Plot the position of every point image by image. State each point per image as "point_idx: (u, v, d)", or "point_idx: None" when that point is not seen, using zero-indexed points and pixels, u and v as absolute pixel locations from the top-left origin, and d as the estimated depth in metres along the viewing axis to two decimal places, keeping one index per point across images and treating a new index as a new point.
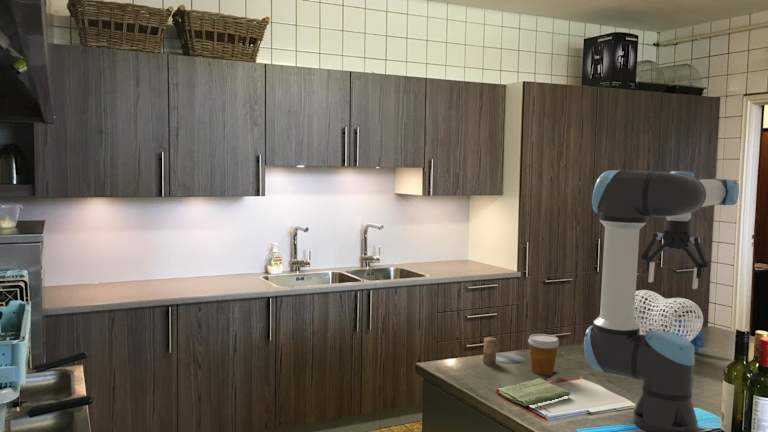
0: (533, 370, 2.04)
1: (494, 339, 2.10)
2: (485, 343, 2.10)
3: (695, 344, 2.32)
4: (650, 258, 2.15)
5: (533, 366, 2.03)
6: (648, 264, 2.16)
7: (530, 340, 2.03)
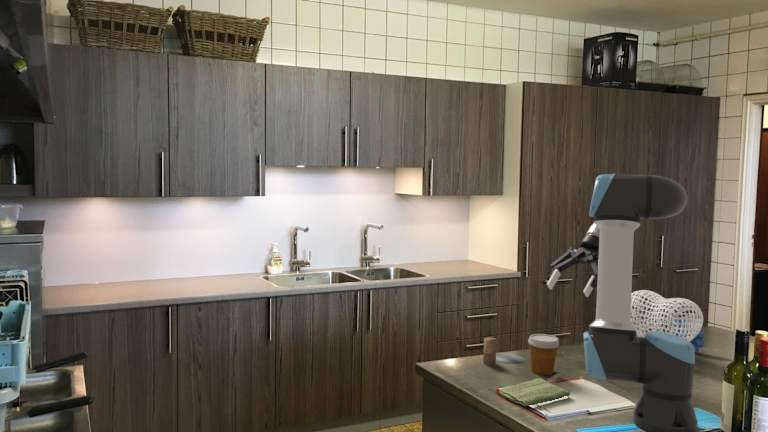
0: (533, 370, 2.04)
1: (494, 339, 2.10)
2: (485, 343, 2.10)
3: (695, 344, 2.32)
4: (557, 266, 2.17)
5: (533, 366, 2.03)
6: (553, 271, 2.17)
7: (530, 340, 2.03)
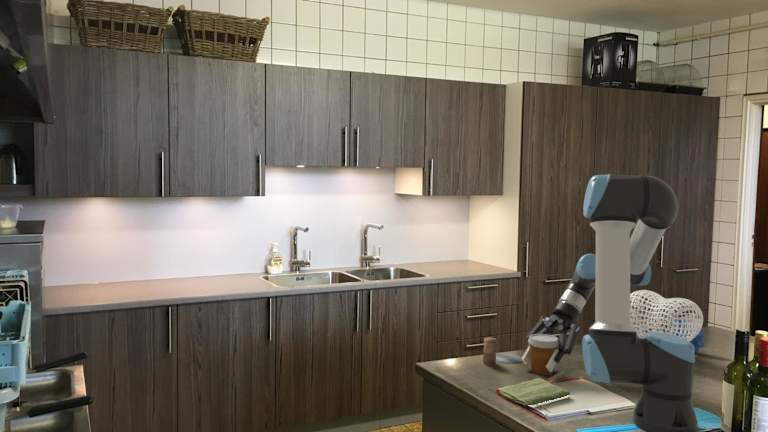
0: (533, 370, 2.04)
1: (494, 339, 2.10)
2: (485, 343, 2.10)
3: (695, 344, 2.32)
4: None
5: (533, 366, 2.03)
6: (529, 345, 2.08)
7: (530, 340, 2.03)
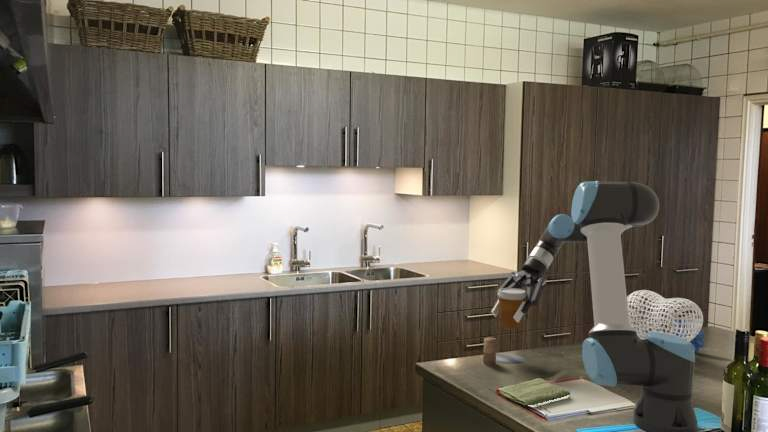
0: (502, 321, 2.15)
1: (494, 339, 2.10)
2: (485, 343, 2.10)
3: (695, 344, 2.32)
4: None
5: (502, 317, 2.14)
6: None
7: (499, 293, 2.14)
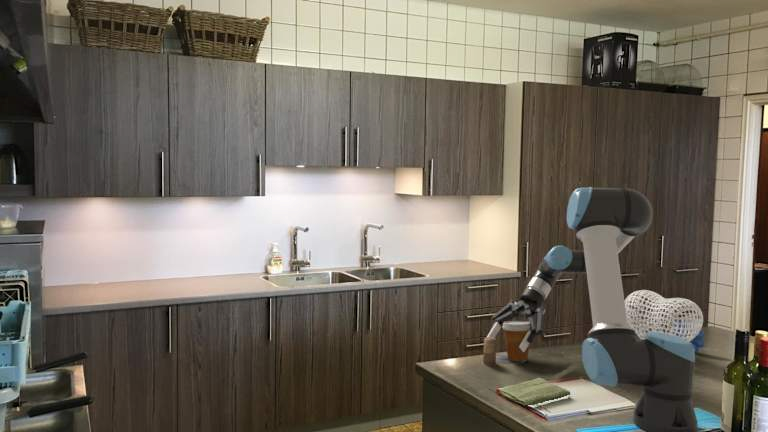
0: (508, 354, 2.14)
1: (494, 339, 2.10)
2: (485, 343, 2.10)
3: (695, 344, 2.32)
4: (498, 319, 2.23)
5: (508, 350, 2.13)
6: (494, 324, 2.23)
7: (504, 325, 2.14)
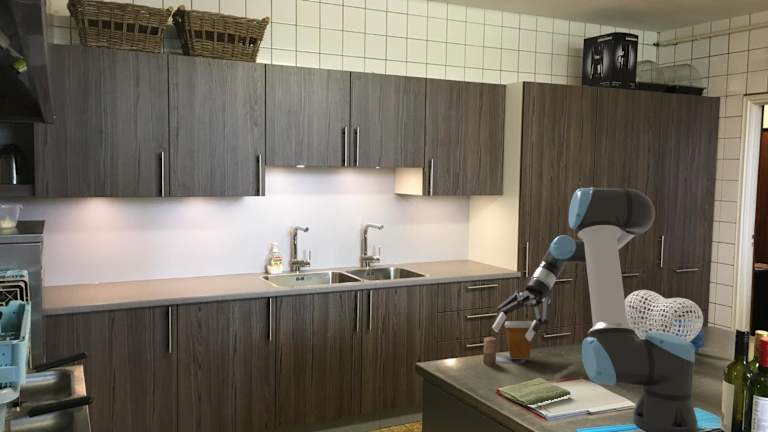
0: (510, 352, 2.14)
1: (494, 339, 2.10)
2: (485, 343, 2.10)
3: (695, 344, 2.32)
4: (503, 309, 2.25)
5: (510, 348, 2.14)
6: (499, 314, 2.24)
7: (506, 323, 2.16)
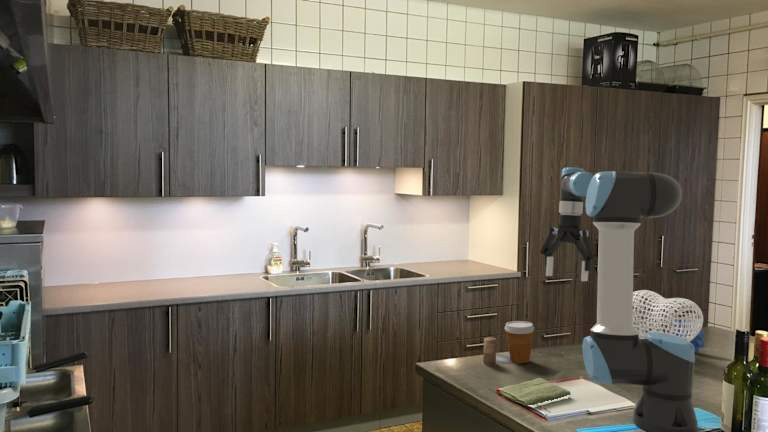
0: (511, 356, 2.13)
1: (494, 339, 2.10)
2: (485, 343, 2.10)
3: (695, 344, 2.32)
4: (547, 252, 2.22)
5: (511, 352, 2.13)
6: (546, 258, 2.23)
7: (506, 327, 2.13)
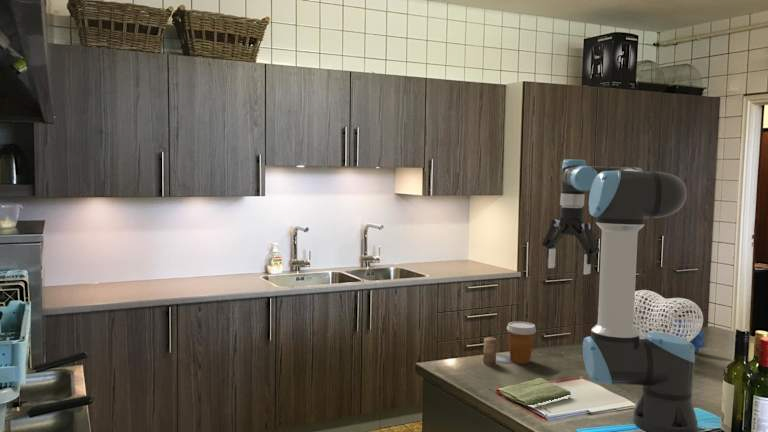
0: (511, 356, 2.13)
1: (494, 339, 2.10)
2: (485, 343, 2.10)
3: (695, 344, 2.32)
4: (549, 245, 2.20)
5: (511, 352, 2.13)
6: (548, 250, 2.21)
7: (508, 327, 2.13)
